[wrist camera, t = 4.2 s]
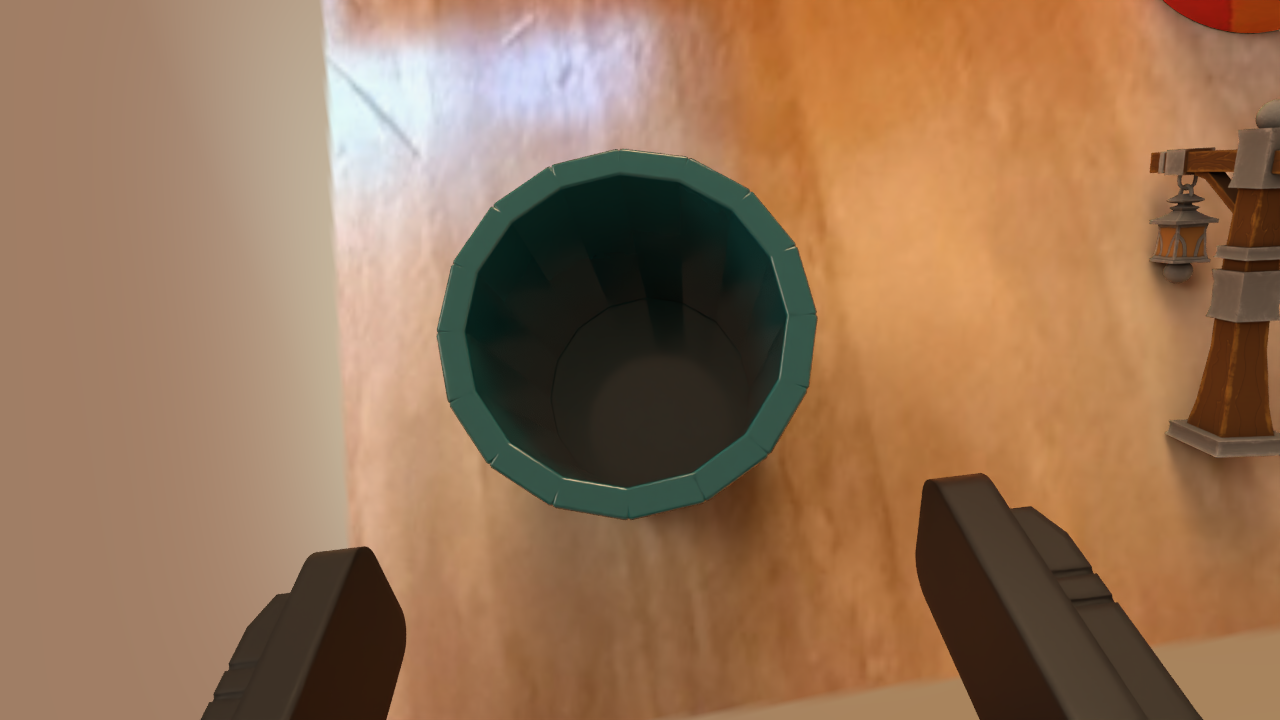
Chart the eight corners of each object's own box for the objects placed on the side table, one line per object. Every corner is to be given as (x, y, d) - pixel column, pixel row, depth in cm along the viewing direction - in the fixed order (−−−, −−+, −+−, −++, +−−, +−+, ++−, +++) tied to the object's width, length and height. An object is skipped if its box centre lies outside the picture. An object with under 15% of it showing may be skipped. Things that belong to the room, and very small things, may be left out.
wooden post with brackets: (1199, 116, 19) (1360, 89, 15) (1169, 404, 21) (1305, 458, 16) (1129, 121, 19) (1268, 95, 15) (1105, 406, 21) (1222, 461, 16)
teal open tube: (563, 536, 19) (473, 557, 11) (519, 317, 20) (411, 198, 12) (790, 482, 19) (863, 465, 11) (731, 266, 20) (758, 112, 12)
